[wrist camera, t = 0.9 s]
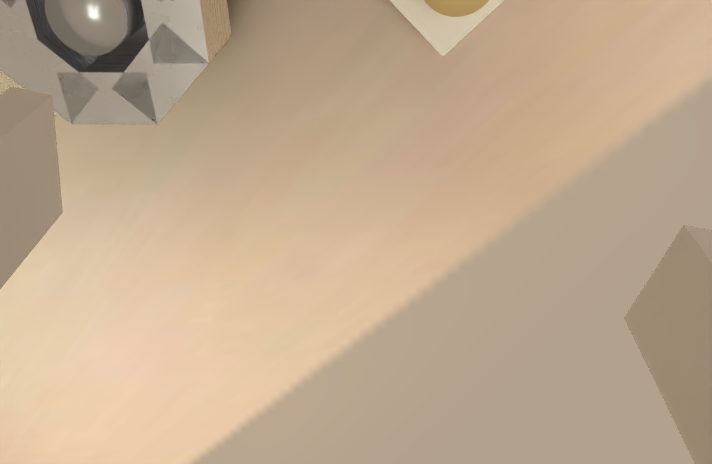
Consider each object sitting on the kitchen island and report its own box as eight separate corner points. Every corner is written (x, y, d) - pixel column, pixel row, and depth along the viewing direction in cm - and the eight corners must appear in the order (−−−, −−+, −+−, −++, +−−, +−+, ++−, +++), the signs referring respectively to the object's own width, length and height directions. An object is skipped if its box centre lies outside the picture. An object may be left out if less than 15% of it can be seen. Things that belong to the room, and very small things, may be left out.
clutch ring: (-15, -7, 27) (-73, 15, 23) (87, -183, 23) (35, -186, 20) (154, 126, 30) (124, 163, 27) (268, -8, 26) (250, 14, 23)
